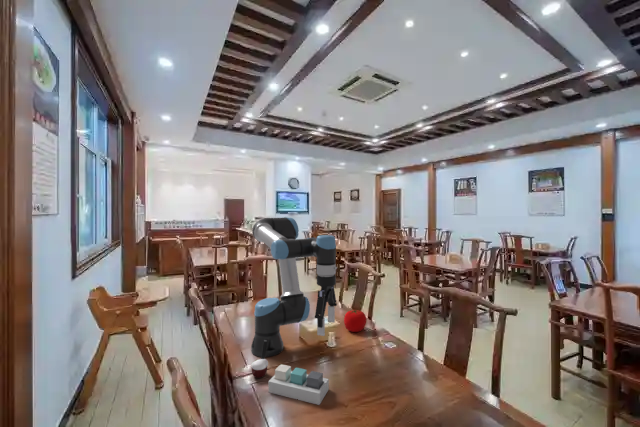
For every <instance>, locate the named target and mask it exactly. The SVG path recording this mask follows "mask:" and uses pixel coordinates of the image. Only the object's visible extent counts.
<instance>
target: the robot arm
mask: <svg viewBox="0 0 640 427" xmlns="http://www.w3.org/2000/svg"><path fill="white" fill-rule="evenodd" d="M299 230H300V229H299V226H298V223H297V221H296V219H295V218H293V217H286V216H285V217H266V218H265V217H264V218H262V219H259V220H258V221H256V222H255V224H254V225H253V227H252V235H253V238H254V239H255V240H256V241H257V242H259V243H264V244H265V245H266V246H267V247H268V248H270V253H271V257H272V258H273V259H274V260H278V263H279V271H280V277H281V278H280V279H281V287H282V294H281V295H280V299H279V298H278V297H267V298H264V299H261V300H259V301H257V303H256V304H255V306H254V312H253V313H254V314H253V315H254V335H253V339H252V342H251V347H250V351H251V354H252V355H254V356H256V357H260V358H261V355H262V349H263V342H264V340H265V341H267V347H266V353H265V358H269V357H273V356H277V355H279V354H280V353H282V352H283V351H284V341H283V338H282V335H281V332H280V329H281V328H280V327H281V326H285V325H286V326H287V325H292V324H298V323H301V322H305V321H306V320H307V319H308V318H309V315H310V312H311V311H310V310H311V308H310V306H311V305H310V300H309V298H308V297H307V296H306V295H304V292H303V291H302V290H301V289H300V282H299V280H300V279H299V274H298V268H297V266H298V265H297V261H296V259H297V258H309V257H311V258H312V257H313V258H316V274H317V275H316V285H317V286H320V290H318V291H317V298H316V300H317V301H316V308H315V314H314V319H316V326H317V327H316V329H317V331H316V332H317V333H316V335H317V336H320V337H325V333H326V331H325V330H326V323H325V322H326V321H325V320H326V319H325V313H326V308H327V322H328V323H332V324H333V323H335V321H336V319H335V316H336V314H335V313H336V312H335V311H336V310H335V307H337V305H338V303H337V298H336V293H335V286H336V284H337V276H336V274H337V273H336V272H337V269H338V267H337V265H336V263H337V262H336V261H337V257H336V256H337V244H336V237H335V236H334V235H330V234H329V235H328V234H321V235H320V234H319V235H318V236H316V237H306V238H299V239H297V238H298V237H299V232H300V231H299ZM327 303H328V305H327Z"/></svg>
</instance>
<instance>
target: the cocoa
mask: <svg viewBox="0 0 640 427" xmlns="http://www.w3.org/2000/svg"><path fill="white" fill-rule="evenodd" d="M266 347H267V341H265V340H264V342H263V349H262V355H261V357H260V359H259V358H258V359H257V360H255V361H252V363H251V365H250V367H251V373H252V375H253V377H254V378H257V379H260V378H263V377H264V376H266V374H267V372H268V365H269V361H268V359H266V357H265V353H266Z"/></svg>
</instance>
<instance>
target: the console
mask: <svg viewBox="0 0 640 427" xmlns="http://www.w3.org/2000/svg"><path fill="white" fill-rule="evenodd" d="M292 371H293V370H291V372H292ZM308 375H309V374H308V373H307V376H308ZM329 382H330V380H329V378H326V377H323V385H322V386H321V388H320V389H319V390H318V389H314V388H310V387H307V380H306V382H305V383H304V384H303V385H302V386H301V385H297V384H293V383H291V377H290V378H289V379H288V380H287V381H286V382H284V381H280V380H276V379H275V374H274V375H272V377H271V378H270V379H269V380H268V386H267V387H268V393H270V394H275V395H279V396H282V397H287V398H290V399H293V400H297V399H298V401H302V402H305V403H308V404H309V403H310V404H314V405H318V406H320V405H321V403H322V402H323V400H324V398H325V397H326V394H327V393H328V391H329V386H330V385H329V384H330V383H329Z"/></svg>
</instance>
